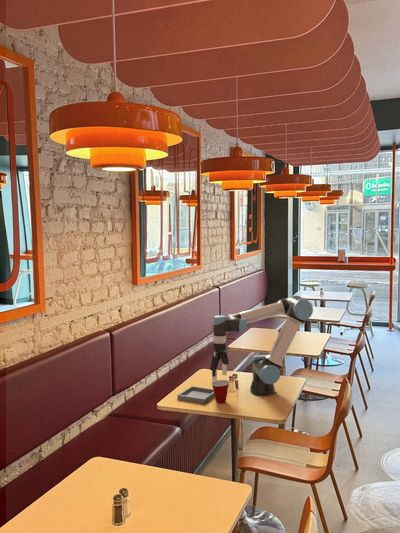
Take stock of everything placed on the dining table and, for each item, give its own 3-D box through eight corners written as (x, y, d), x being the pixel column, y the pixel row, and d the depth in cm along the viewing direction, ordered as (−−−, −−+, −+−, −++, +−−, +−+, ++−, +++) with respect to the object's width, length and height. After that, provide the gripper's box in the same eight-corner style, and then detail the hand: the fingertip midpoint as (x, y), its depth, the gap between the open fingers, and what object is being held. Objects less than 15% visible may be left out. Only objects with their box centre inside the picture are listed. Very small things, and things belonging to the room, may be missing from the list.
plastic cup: (213, 398, 294) (212, 378, 293) (231, 399, 292) (230, 379, 291) (209, 404, 284) (209, 384, 283) (228, 405, 282) (227, 385, 281)
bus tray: (217, 394, 301) (217, 389, 301) (204, 404, 285) (204, 399, 285) (191, 390, 309) (191, 385, 309) (177, 399, 293) (177, 394, 293)
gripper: (222, 337, 298) (222, 371, 300) (204, 346, 276) (204, 383, 277) (234, 338, 294) (234, 373, 296) (216, 347, 272) (216, 385, 274)
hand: (219, 378), depth 287 cm, fingers open, 13 cm apart
